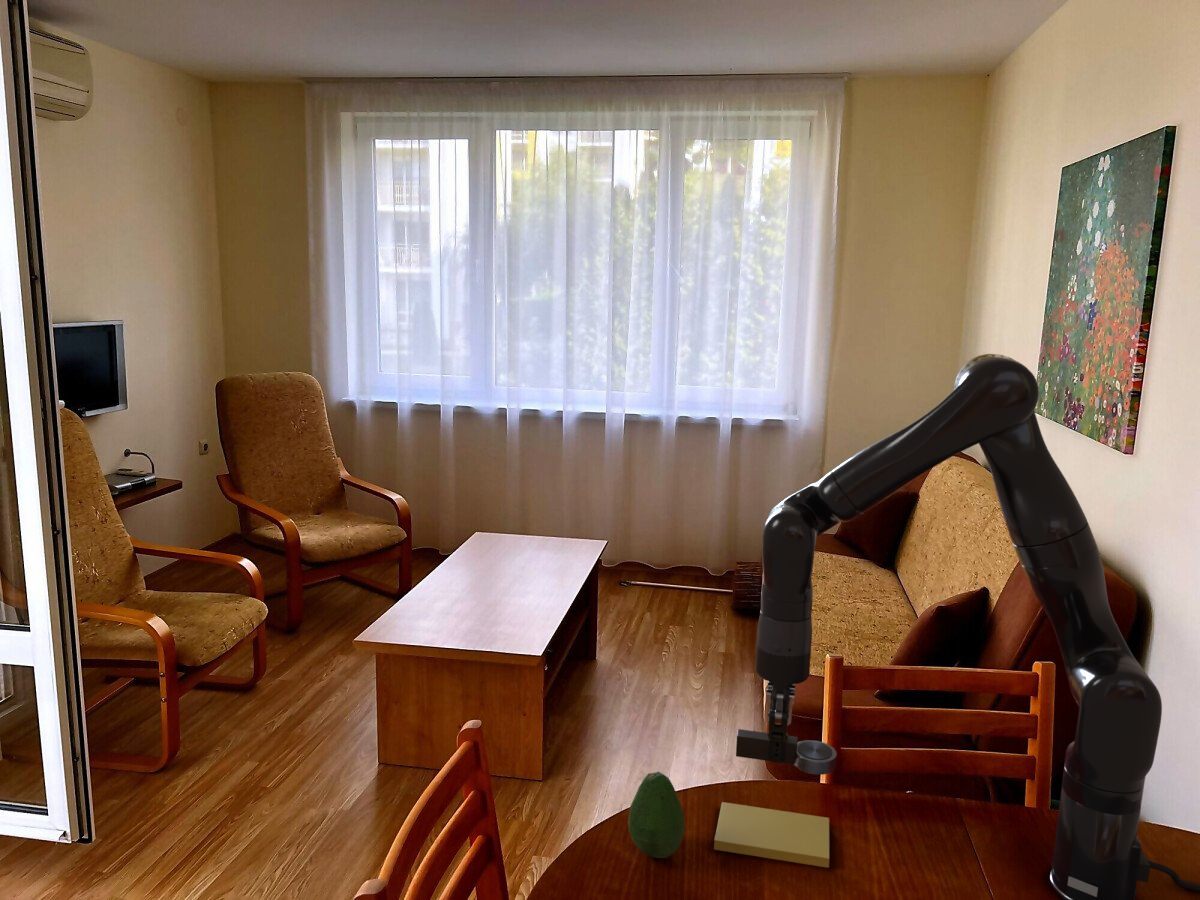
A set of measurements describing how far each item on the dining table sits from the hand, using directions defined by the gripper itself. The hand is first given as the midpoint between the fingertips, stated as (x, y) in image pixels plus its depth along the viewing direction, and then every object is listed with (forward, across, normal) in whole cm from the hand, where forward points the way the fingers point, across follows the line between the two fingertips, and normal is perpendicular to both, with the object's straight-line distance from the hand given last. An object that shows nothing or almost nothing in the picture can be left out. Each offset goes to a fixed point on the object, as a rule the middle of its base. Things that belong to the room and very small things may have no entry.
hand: (777, 755), depth 131 cm
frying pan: (0, 0, -1) cm, 1 cm away
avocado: (+13, -8, +16) cm, 22 cm away
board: (+13, 0, 0) cm, 13 cm away
